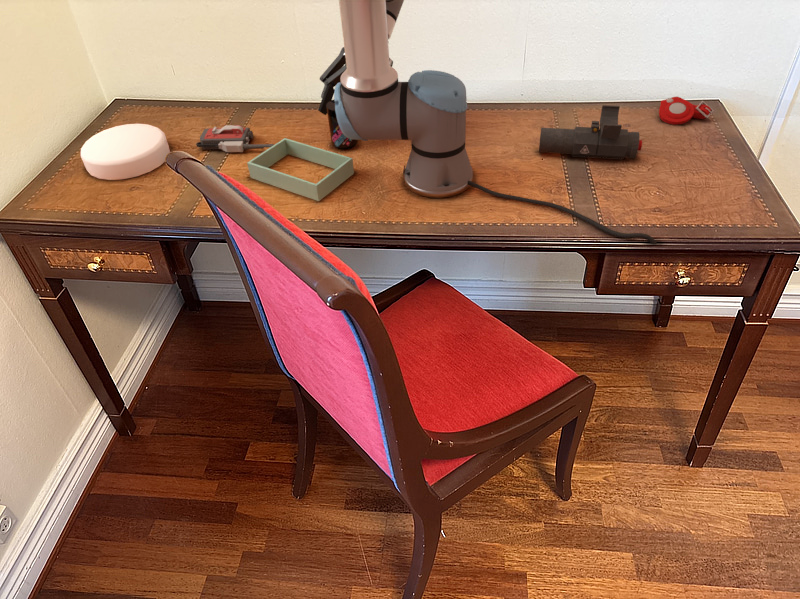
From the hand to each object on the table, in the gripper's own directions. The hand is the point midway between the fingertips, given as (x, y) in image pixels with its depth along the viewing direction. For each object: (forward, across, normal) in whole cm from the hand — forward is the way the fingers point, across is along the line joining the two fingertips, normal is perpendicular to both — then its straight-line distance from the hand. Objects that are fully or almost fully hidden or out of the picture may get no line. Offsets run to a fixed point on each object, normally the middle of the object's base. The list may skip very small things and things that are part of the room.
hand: (344, 118), depth 151 cm
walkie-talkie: (+14, +24, +5) cm, 28 cm away
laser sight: (-11, -54, -20) cm, 58 cm away
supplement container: (+5, 0, -4) cm, 7 cm away
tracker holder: (-30, -68, -40) cm, 84 cm away
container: (+27, +44, +18) cm, 54 cm away
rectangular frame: (+17, 0, +8) cm, 19 cm away
